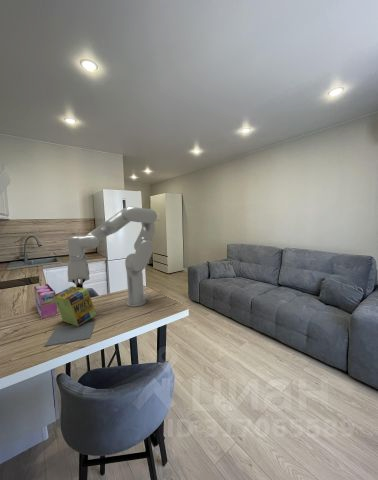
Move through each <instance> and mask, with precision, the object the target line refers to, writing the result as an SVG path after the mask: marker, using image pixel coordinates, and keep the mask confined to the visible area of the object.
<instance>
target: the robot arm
mask: <svg viewBox="0 0 378 480" xmlns="http://www.w3.org/2000/svg"><path fill="white" fill-rule="evenodd" d="M157 219H158V215H157V212H156V211H155V210H153V209H152V208H151V209H149V208H144V207H143V208H142V207H138V206H137V207H136V206H126V207H124V208H122V209H121V210H119V211H118V212H117V213H115V214H114V215H113V216H111V217H110V218H108V219H107V220H105V221H104V222H103V223H102V224H100V225H99V226H97V227H95V228H94V229H93V230H91V231H90V232H89V233H87V234H86V235H84V236H82V235H72V236H68V238H67V248H68V258H69V261H68V263H67V282H69V283H73V284H75V287H79V288H84V285H83V284H84V283H85V282H86V281H89V280H90V279H91V278H90V269H89V268H90V267H89V263H88V260H87V259H89V258H88V255H86V254H85V249H87V250H89V249H91V250H93V249H96V248H97V247H99V245H100V242H101V241H102V240H104V239H105V238H106V237H108V236H110V235H113V234H116V233H117V232H120V230H121V229H123V227H125V226H127V225H128V224H129V223H131V222H135V223H141V229H140V231H139V234H138V236H137V238H136V240H135V242H134V245H133V248H134V250H135V252H134V253H129V254H128V255H127V256H126V258H125V261H124V265H125V270H126V281H127V297H128V299H127V300H126V301H125V302H126V303H125V305H126V306H128V307H134V308H135V307H141V306H143V305H145V304H146V303H147V300H151V299H152V295H149V294H146V295H145V293H144V292H145V291H144V279H143V278H144V277H143V271H144V270H145V268H146V267H147V266H148V263H149V261H150V259H151V257H152V254H153V252H154V247H155V245H154V243H153V241H152V239H153V237H154V234H155V231H156V225H155V222H156V221H157Z"/></svg>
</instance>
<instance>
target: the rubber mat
mask: <svg viewBox="0 0 378 480" xmlns="http://www.w3.org/2000/svg"><path fill="white" fill-rule="evenodd" d="M95 323H96V321H91V322H85V323H83V324H82V325H80V326H79V327H78V326H76V325H73V324H69V325H65V326H59V327H58V326H57V327H55V328H54V330H53V332H52V333H51V335H50V336H49V337H48V339H47V341H46V343H45V344H44V346H43V347H44V348H46V347H52V346H57V345H61V344H69V343H73V342H80V341H83V340H84V341H85V340H89V339H91V337H92V334H93V332H94V326H95Z"/></svg>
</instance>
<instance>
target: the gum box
mask: <svg viewBox="0 0 378 480" xmlns="http://www.w3.org/2000/svg"><path fill="white" fill-rule="evenodd" d="M33 289H34V300H35V307H36V310H37V311H38V314H39V316H41V317H40V318H44V319H47V318H46V317H48V318H50V317H49V316H51V317H54V316H53V315H55V316H57V315H56V314H58V315H59V313H58V307H57V305H56V302H55V300H54V297H53V296H54V295H56V294H57V293H56V291H55V290H54V289H53V288H52V286H50V284H48V283H46V284H45V285H40V286H36V285H35V286H34V287H33Z"/></svg>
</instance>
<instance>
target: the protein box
mask: <svg viewBox="0 0 378 480" xmlns="http://www.w3.org/2000/svg"><path fill="white" fill-rule="evenodd" d="M89 292H90V291H89V290H88V288H84V287H83V288H79V287H76V286H74V285H73V286H72V285H71V286H70V287H68V288H66V289H64V290H62V291H60V292H58V293H56V295H54V296H53V297H54V300H55V302H56V305H57V311H58V312H59V313H58V314H59V315H60V317H61V320H62V322H65V323H67V324H69V325H76V326H78V327H79V326H80V325H82V324H83V323H87V322H88V321H89V320H91V319H92V318H93V317H95V316H96V315H97V313H96V310H95V307H94V304H93V301H92V298H91V295H90V293H89Z"/></svg>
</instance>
